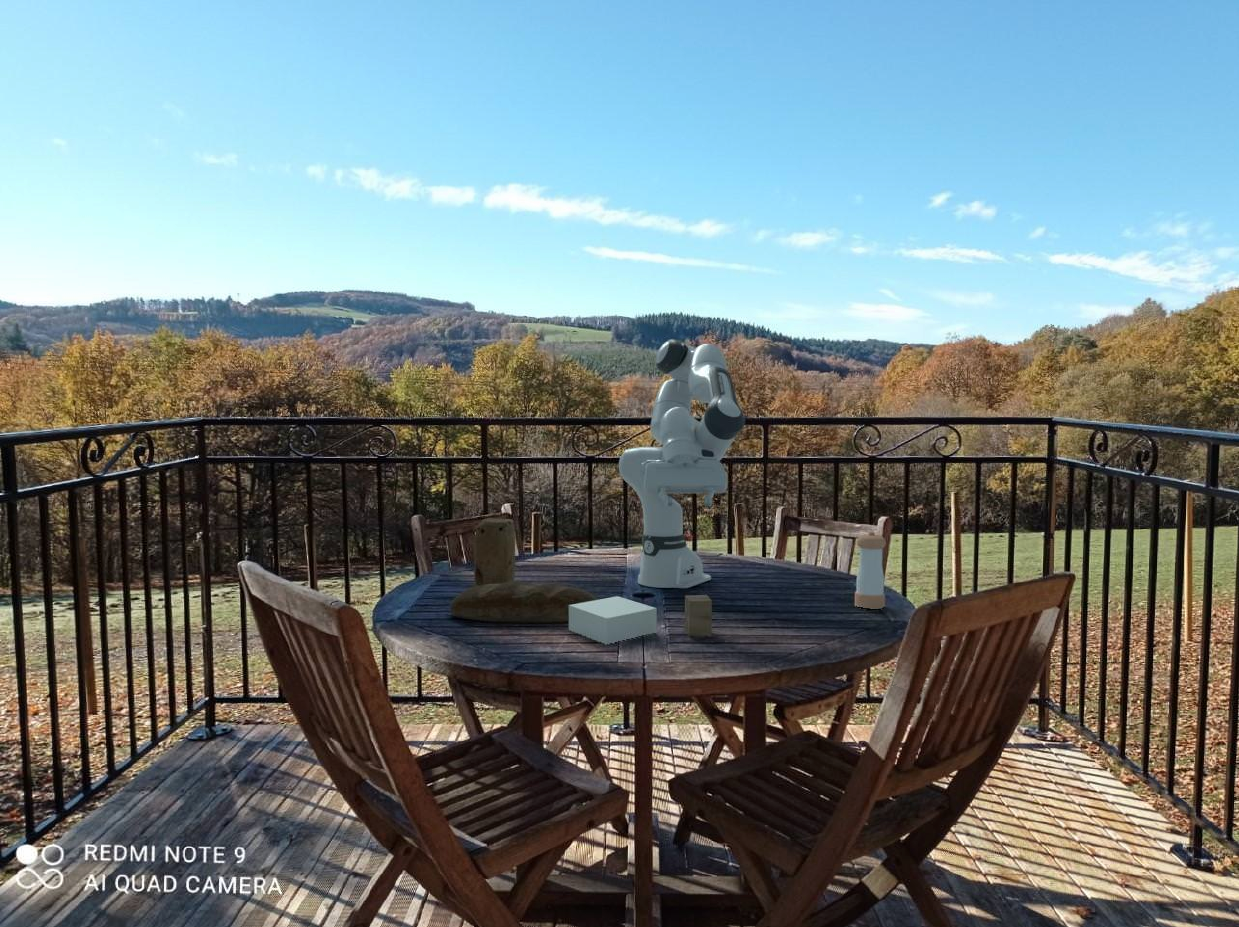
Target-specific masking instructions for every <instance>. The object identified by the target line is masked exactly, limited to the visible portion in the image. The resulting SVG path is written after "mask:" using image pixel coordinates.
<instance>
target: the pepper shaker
mask: <svg viewBox="0 0 1239 927" xmlns="http://www.w3.org/2000/svg"><path fill="white" fill-rule="evenodd" d="M886 543H887V542H886V539H885V538H884V537H883V536H882V535H880V534H876V533H875V532H874V531H871V530H870V531H869V532H868V533H865V534H864V533H863V534H861V535H860V536H858V537H857V539H856V545H857V546H858V547H859V564H858V570H857V573H856V574H857V575H856V590H855V592H854V606H855V607H856V606H857V607H863V608H870V609H879V608H883V607H885V606H886V603H885V602H886V594H885V592H884V588H885V586H884V585H885V577H884V571H883V570H884V569H883V549H884V548H885V546H886ZM857 607H856V608H857ZM885 608H886V607H885Z"/></svg>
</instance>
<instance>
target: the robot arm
mask: <svg viewBox="0 0 1239 927" xmlns="http://www.w3.org/2000/svg"><path fill="white" fill-rule="evenodd" d="M655 364H656V365H655V366H656V368H657V369H658V370H659V371H661V373H663V374H664V375H668V376H670V377H671V378H669V379H667V380H665V381H664V382H663V383H661V385H660V386H659V389H658V391H657V394H656V398H655V401H654V404H653V410H652V416H651V421H650V433H651V436H652V437H653V438H654V440H655V441H656V442H658V443H659V444H661V445H662V446H639V447H638V446H637V447H632V448H628V449H625V450H624V451H623V453H621V455H620V458H619V461H618V471H619V474H620V477H621V478H622V479H623V480H624V481H625V482H626V483H627V484H628V485H629V486H631V487H632V488H633V490H634V491H635V492H636V495H637V496H638V498H639V500H640V503H641V506H642V507H641V508H642V514H643V533H642V534H641V536H642V537H641V545H642V549H643V550H642V552H641V559H640V567H639V573H638V575H637V583H638V584H639V585H640V586H641V585H642V586H645V587H650V588H660V589H663V588H665V589H668V588H669V589H671V588H673V589H677V588H678V589H688V588H691V587H693V586H697V585H700V584H702V583H705V582H707V581H711V580H712V576H711V575H710V574H708V573H704V566H703V561H702V558H701V557H700V556H699V555H697V554H696V553H694V551H692V550H691V549H690V548H689V547H688V545H687V542H693V538H694V536H693V535H692V534H689V533H686V534H684V533H683V523H684V522H683V519H684V518H683V517H684V516H683V514H684V513H683V508H682V506H681V504H680V503H679V502H677V500H675V499H674V498H673V497H672V496H668V494H671V495H672V494H674V495H675V494H707V496H704V500H703V503H704V507H712V504H713V500H712V499H713V498H714V494H724V493H725V492H726V491H727V489H728V483H729V480H728V477H727V476H728V475H727V473H726V470H725V467H724V465H723V463H722V462H721V461H722V459H723V458H724V456H725V455H726V453H727V451H728V450H729V449H730V447H731V445H732V444H733V442H734V440H735V439H736V437H737V436H738V434H739V433H740V432H741V431H742V429H743V428H744V426H745V425H746V424H745V423H746V419H745V415H744V413H743V410H742V408H741V406H740V404H739V403H738V400H737V395H736V391H735V387H734V382H733V377H732V376H731V374H730V373H729V371H728V367H727V361H726V358H725V355H724V353H723V351H722V349H721V348H720V347H719V346H718V345H715V344H712V343H703V344H701V345H698V346H697V347H695V346H691V345H689V344H686V343H685V342H683V341H682V340H679V339H673V338H672V339H668V340H666V341H664V343H662V345H661V346H660V347H659V348H658V351H657V353H656V357H655ZM693 399H695V400H697V401H698V402H700V403H703V404H704V403H705V404H708V405H707V407H706V409H705V412H704V413H703V416H702V417H701V420H700V421H699V420H697V419H696V418H694V416H692V415H691V411H692V410H691V409H692V400H693Z"/></svg>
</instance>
